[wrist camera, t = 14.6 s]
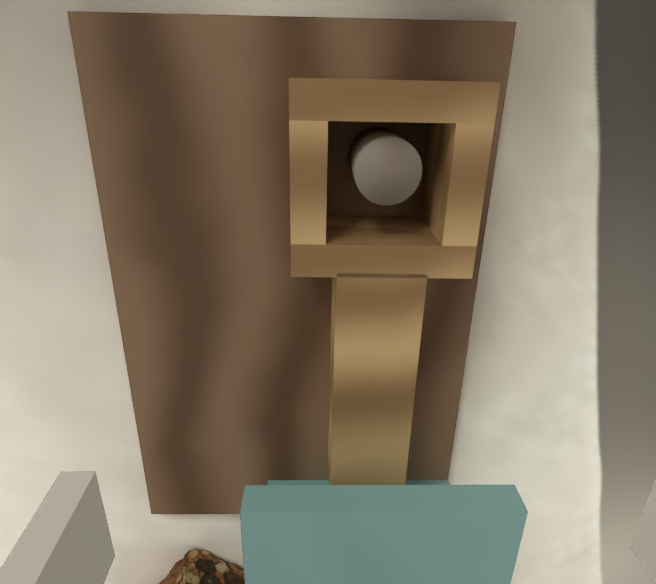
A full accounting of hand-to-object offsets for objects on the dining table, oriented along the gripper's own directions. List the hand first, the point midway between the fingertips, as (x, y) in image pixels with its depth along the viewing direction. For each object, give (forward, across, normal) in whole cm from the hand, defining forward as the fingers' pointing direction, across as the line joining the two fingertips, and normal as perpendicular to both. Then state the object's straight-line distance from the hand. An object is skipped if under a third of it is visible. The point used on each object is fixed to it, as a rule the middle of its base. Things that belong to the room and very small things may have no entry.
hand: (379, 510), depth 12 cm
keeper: (+17, +2, -12) cm, 21 cm away
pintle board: (+17, -2, -3) cm, 18 cm away
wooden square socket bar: (+16, +2, -2) cm, 17 cm away
